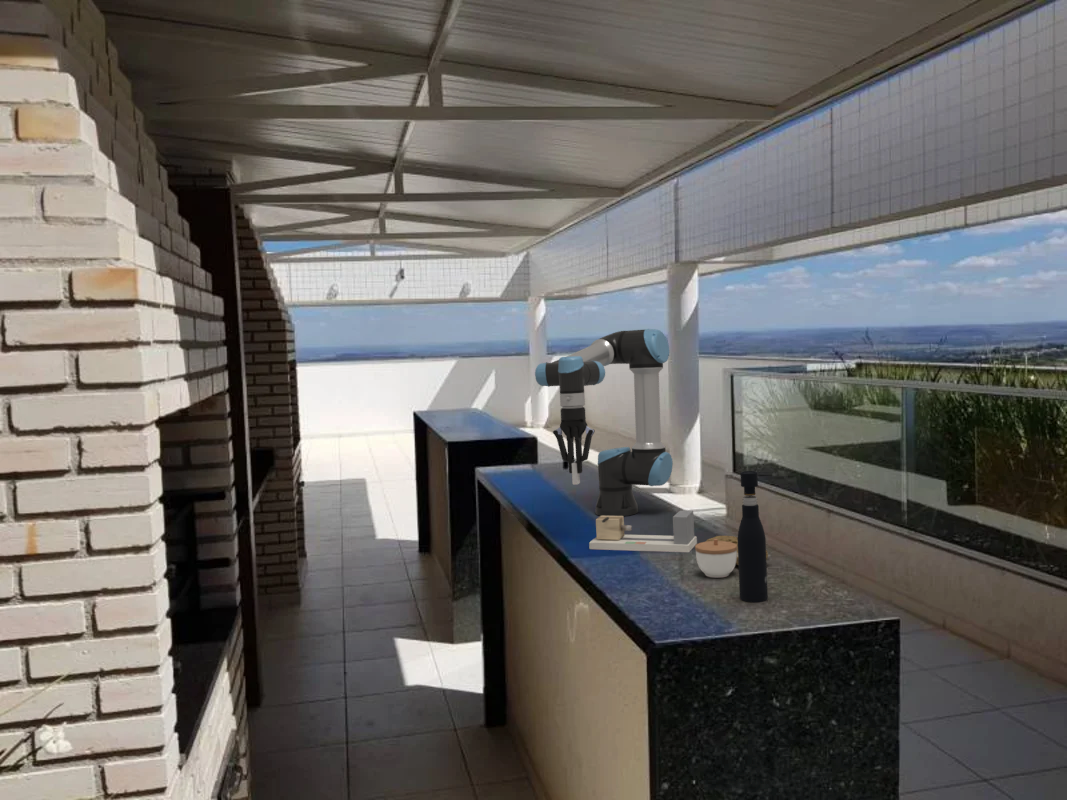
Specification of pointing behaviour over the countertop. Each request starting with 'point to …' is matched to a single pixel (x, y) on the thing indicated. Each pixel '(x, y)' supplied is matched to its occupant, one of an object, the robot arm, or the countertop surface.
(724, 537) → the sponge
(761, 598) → the wine bottle
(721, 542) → the lidded jar
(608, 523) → the gauge carriage
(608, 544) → the bench
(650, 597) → the countertop surface
